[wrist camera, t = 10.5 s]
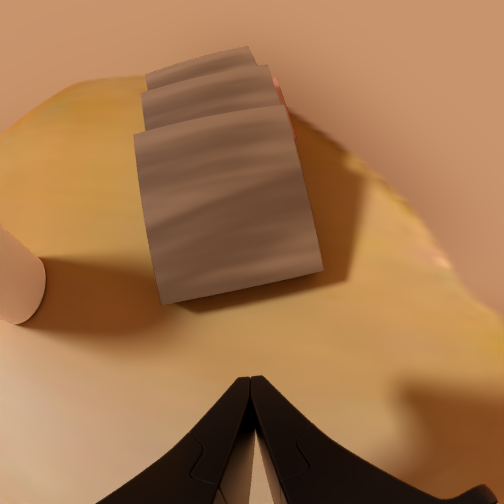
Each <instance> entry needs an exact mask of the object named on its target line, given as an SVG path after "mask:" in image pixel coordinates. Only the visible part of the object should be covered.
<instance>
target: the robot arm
mask: <svg viewBox="0 0 504 504" xmlns="http://www.w3.org/2000/svg"><path fill="white" fill-rule="evenodd" d="M255 429H256V435H257V440H258V444H259V448H260V452H261V456H262V460H263V464H264V467H265V471H266V475H267V479H268V483H269V487H270V490H271V494H272V498H273V501H274V504H496V503H497V502H498V500H497V498H496V496H495V495H494V494H493V492H492V491H491V490H490V489H489V488H488V487H487V486H486V485H485V484H481V485H478V486H476V487H473V488H472V489H470V490H468V491H466V492H465V493H463V494H461V495H459V496H457V497H454V498H451V499H439V498H436V497H434V496H432V495H430V494H427V493H425V492H423V491H421V490H419V489H417V488H415V487H413V486H411V485H409V484H407V483H405V482H403V481H401V480H400V479H398V478H396V477H394V476H392V475H390V474H388V473H387V472H385V471H383V470H381V469H379V468H378V467H376V466H374V465H372V464H371V463H369V462H367V461H366V460H364V459H362V458H360V457H359V456H357V455H356V454H354V453H352V452H351V451H349V450H347V449H346V448H344V447H343V446H341V445H340V444H338V443H337V442H335V441H334V440H332V439H331V438H329V437H328V436H327V435H326V434H324V433H323V432H322V431H321V430H320V429H318V428H317V427H316V426H315V425H314V424H313V423H311V422H310V421H309V420H308V419H307V418H306V417H305V416H304V415H303V414H302V413H301V412H300V411H299V410H298V409H296V408H295V407H294V406H293V405H292V404H291V403H290V402H289V401H288V400H287V399H286V398H285V397H284V396H283V395H282V394H281V393H280V392H279V391H278V390H277V389H276V388H275V387H274V386H273V385H272V384H271V383H270V382H269V381H268V380H267V379H266V378H265V377H264V376H262V375H260V376H252V377H251V379H250V377H239V378H237V379H236V380H235V381H234V383H233V384H232V385H231V386H230V387H229V388H228V390H227V391H226V392H225V393H224V394H223V395H222V396H221V397H220V399H219V400H218V401H217V402H216V403H215V404H214V405H213V406H212V408H211V409H210V410H209V411H208V412H207V413H206V414H205V415H204V416H203V417H202V418H201V420H200V421H199V422H198V423H197V424H196V425H195V426H194V427H193V428H192V429H191V430H190V431H189V432H188V433H187V434H186V435H185V436H184V437H183V438H182V439H181V440H180V441H179V442H178V443H177V444H176V445H175V446H174V447H173V448H172V449H171V450H169V451H168V452H167V453H166V454H165V455H163V456H162V457H161V458H160V459H158V460H157V461H156V462H154V463H153V464H152V465H150V466H149V467H148V468H146V469H145V470H144V471H142V472H141V473H140V474H138V475H137V476H135V477H134V478H133V479H131V480H130V481H128V482H127V483H126V484H124V485H123V486H121V487H120V488H118V489H117V490H115V491H114V492H112V493H111V494H109V495H108V496H106V497H105V498H103V499H102V500H100V501H99V502H97V503H96V504H249V496H250V487H251V477H252V467H253V456H254V446H255Z"/></svg>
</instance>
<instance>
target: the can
mask: <svg viewBox="0 0 504 504" xmlns="http://www.w3.org/2000/svg"><path fill="white" fill-rule="evenodd" d="M45 286H46V276H45V269H44V265H43V263H42V261H41V260H40V259H39V258H38V257H37V256H36V255H34V254H33V253H32V252H31V251H30V250H29V249H27V248H26V247H25V246H24V245H23V244H22V243H21V242H19V241H18V240H17V239H16V238H15V237H14V236H13V235H12V234H10V233H9V232H8V231H7V230H6V229H5V228H4V227H3V226H2V225H1V224H0V319H2V320H5V321H7V322H9V323H12V324H20V323H23V322H25V321H26V320H27V319H29V318H30V317H31V316H32V315H33V314H34V313H35V312H36V311H37V309H38V307H39V306H40V304H41V301H42V299H43V296H44V292H45Z"/></svg>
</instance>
